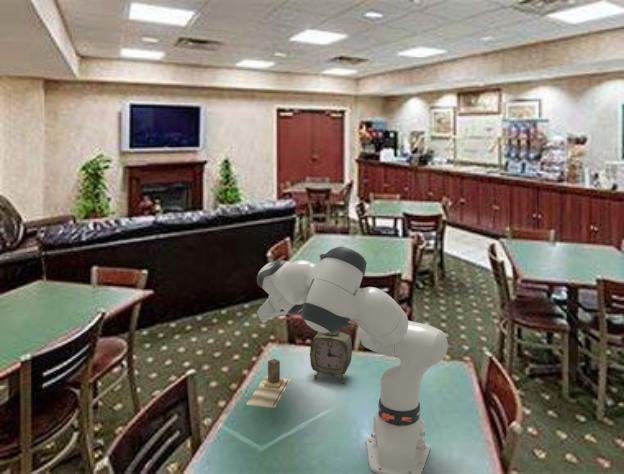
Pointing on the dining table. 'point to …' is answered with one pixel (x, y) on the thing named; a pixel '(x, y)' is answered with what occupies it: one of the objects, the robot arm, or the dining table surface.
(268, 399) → the plywood board
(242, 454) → the dining table surface
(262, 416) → the dining table surface
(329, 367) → the tabletop clock
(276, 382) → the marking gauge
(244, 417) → the dining table surface
